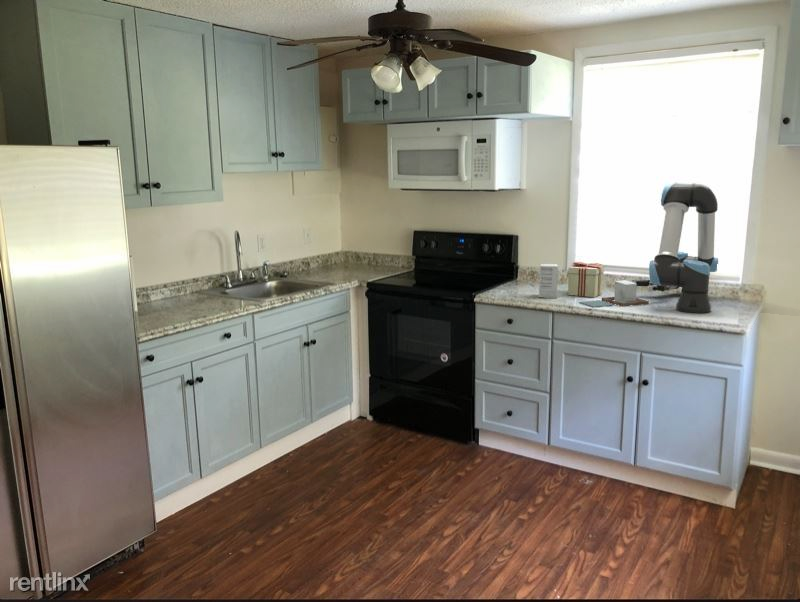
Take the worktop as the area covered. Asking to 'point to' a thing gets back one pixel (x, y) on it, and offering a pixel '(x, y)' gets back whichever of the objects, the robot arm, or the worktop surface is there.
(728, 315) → the worktop surface
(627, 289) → the skincare box
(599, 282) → the gift box
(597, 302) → the rubber mat
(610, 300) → the walnut collar
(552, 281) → the supplement box
